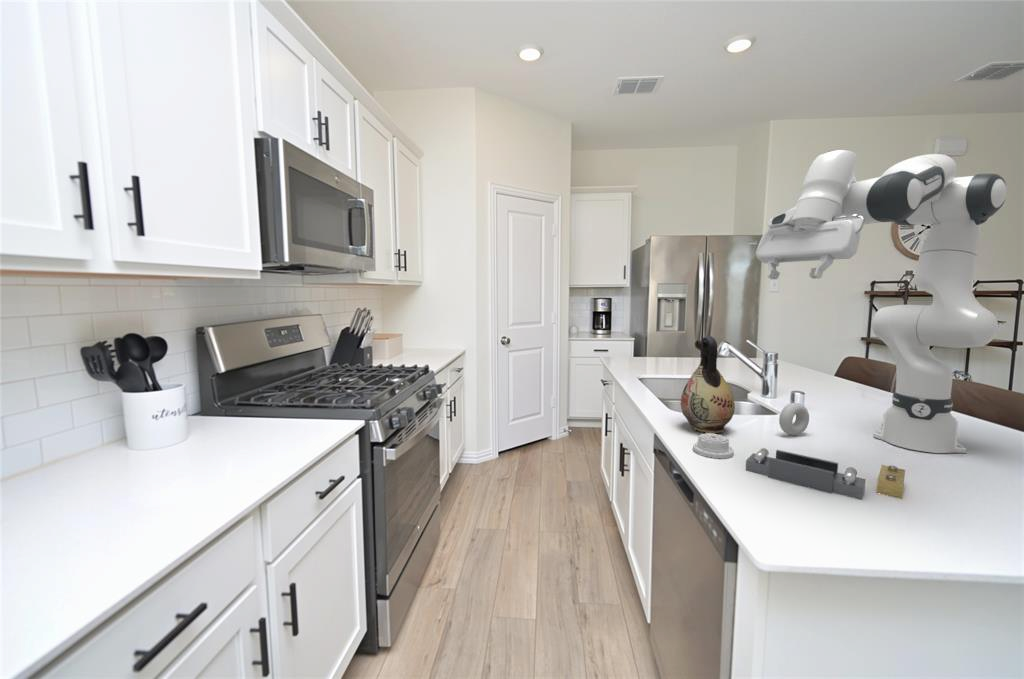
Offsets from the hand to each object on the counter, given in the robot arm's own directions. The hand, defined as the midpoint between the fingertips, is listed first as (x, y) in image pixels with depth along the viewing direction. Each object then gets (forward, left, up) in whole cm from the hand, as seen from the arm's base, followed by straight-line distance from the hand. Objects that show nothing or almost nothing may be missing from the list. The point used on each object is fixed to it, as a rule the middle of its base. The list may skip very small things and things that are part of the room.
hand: (792, 278), depth 94 cm
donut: (-37, -4, -46) cm, 59 cm away
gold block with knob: (-11, +19, -46) cm, 51 cm away
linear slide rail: (-3, +4, -46) cm, 46 cm away
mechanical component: (-7, -17, -47) cm, 50 cm away
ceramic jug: (-24, -25, -46) cm, 58 cm away
